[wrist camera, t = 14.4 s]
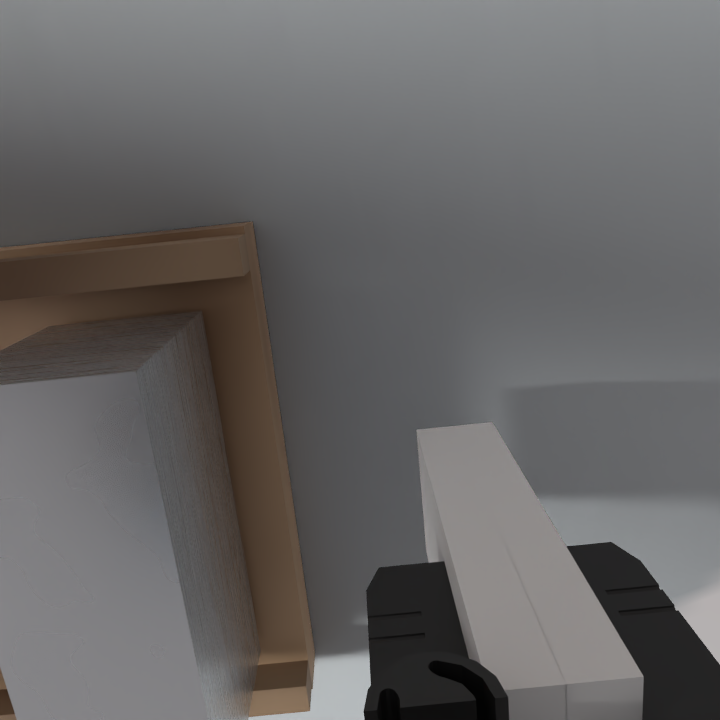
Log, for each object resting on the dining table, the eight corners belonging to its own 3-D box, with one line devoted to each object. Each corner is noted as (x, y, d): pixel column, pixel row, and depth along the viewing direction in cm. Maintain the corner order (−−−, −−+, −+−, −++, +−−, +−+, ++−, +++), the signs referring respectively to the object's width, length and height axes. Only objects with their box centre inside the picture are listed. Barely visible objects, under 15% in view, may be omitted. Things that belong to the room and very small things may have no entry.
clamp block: (105, 665, 15) (18, 840, 11) (18, 329, 12) (-130, 397, 8) (260, 650, 15) (229, 820, 11) (201, 310, 12) (134, 371, 8)
